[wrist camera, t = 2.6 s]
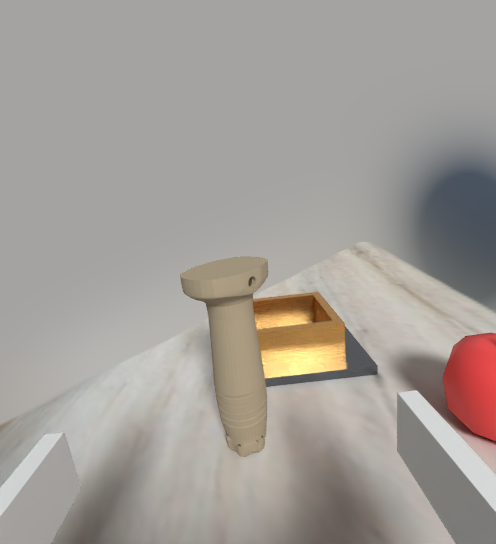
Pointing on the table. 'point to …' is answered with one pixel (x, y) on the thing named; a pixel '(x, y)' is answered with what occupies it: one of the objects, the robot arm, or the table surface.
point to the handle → (234, 345)
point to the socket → (306, 341)
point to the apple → (473, 383)
